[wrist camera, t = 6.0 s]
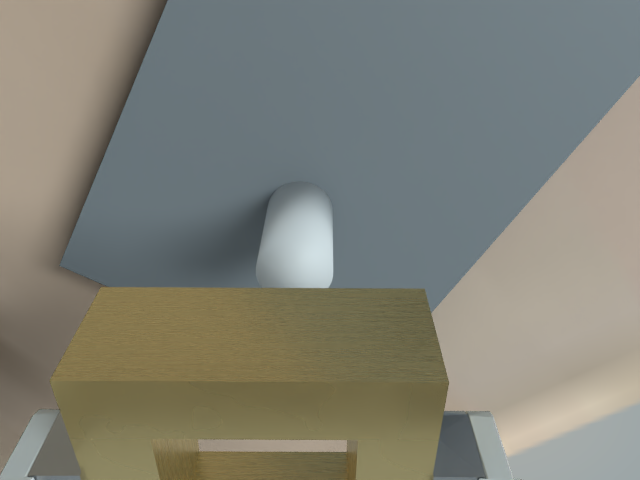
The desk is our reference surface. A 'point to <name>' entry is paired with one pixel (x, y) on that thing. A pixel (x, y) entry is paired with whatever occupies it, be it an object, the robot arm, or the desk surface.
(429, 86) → the jig board
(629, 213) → the desk surface
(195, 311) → the brass collar
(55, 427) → the robot arm
